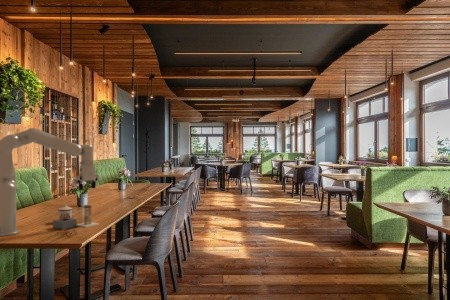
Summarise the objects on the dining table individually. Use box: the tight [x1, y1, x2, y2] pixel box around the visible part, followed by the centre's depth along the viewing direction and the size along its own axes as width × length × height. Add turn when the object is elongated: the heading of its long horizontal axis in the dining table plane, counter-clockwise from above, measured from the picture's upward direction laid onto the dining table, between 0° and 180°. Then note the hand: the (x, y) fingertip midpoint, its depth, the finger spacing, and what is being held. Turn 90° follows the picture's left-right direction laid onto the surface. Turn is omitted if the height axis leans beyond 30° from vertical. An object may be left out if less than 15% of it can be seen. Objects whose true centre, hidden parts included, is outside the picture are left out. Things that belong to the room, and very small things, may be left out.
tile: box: [77, 221, 100, 228], centre depth 237 cm, size 10×10×1 cm
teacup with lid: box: [57, 204, 78, 219], centre depth 249 cm, size 12×9×12 cm
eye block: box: [52, 218, 78, 231], centre depth 231 cm, size 10×10×5 cm
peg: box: [83, 204, 93, 225], centre depth 237 cm, size 5×5×12 cm
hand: (87, 189), depth 237 cm, fingers open, 9 cm apart
